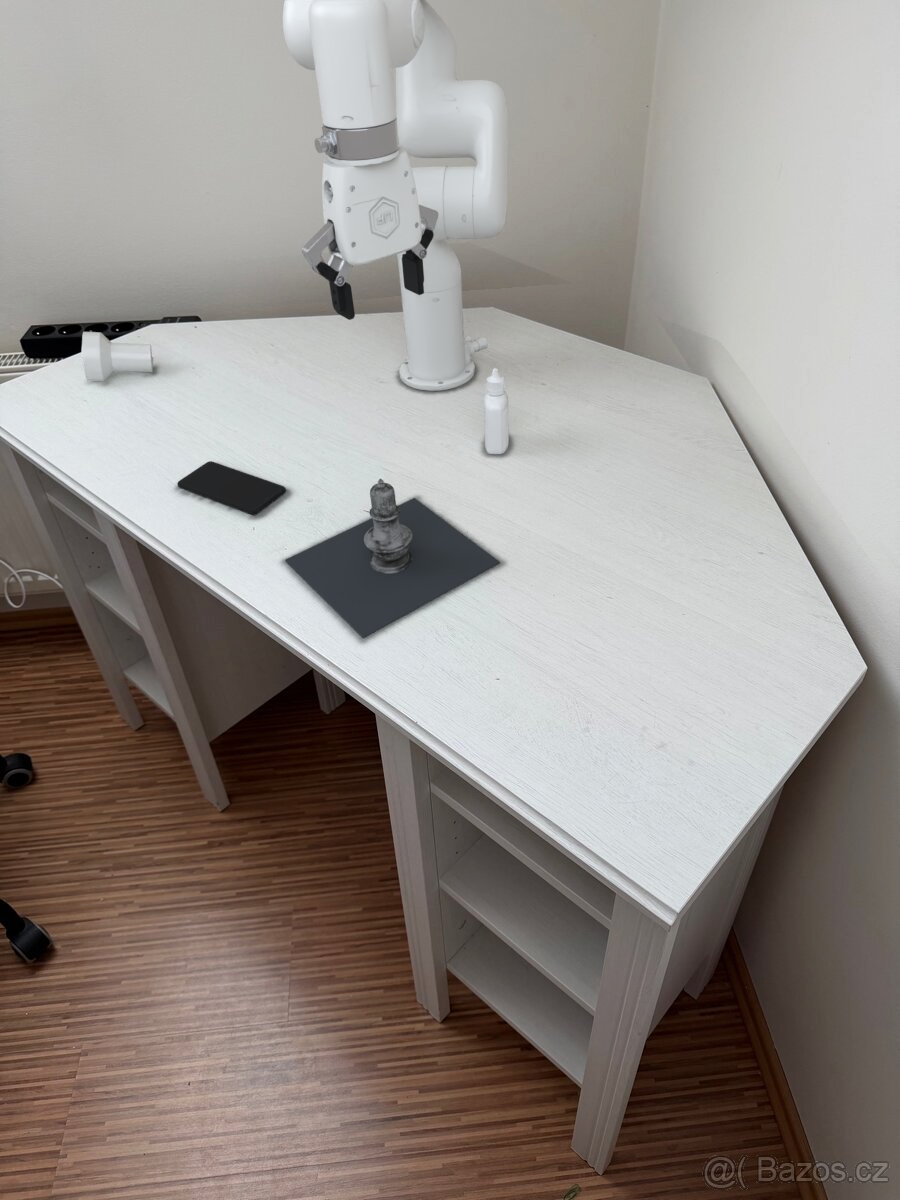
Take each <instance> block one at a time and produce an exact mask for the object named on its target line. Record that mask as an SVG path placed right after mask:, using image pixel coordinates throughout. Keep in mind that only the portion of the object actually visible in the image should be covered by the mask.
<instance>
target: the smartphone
mask: <svg viewBox="0 0 900 1200" xmlns="http://www.w3.org/2000/svg"><path fill="white" fill-rule="evenodd" d="M177 487H178V488H179V489H181V490H184V491H187V492H189V493H192V494H195V495H197V496H200V497H203V498H205V499H208V500H211V501H212V502H216V503H219V504H221V505H223V506H227V507H230V508H232V509H235V510H237V511H239V512H240V511H241V512H243V513H245V514H248V515H251V516H256V515H258V514H259V513H262V511H264V510H265V509H266V508H268V507H269V506H270V505H271V504H273V503H274V502H276V501H277V500H278V499H280V498H281V497H282V496H283V495H285V494H286V492H287V489H286V486H284V485H281V484H279V483H276V482H273V481H271V480H267V479H264V478H261V477H258V476H255V475H253V474H250V473H247V472H244V471H241V470H239V469H236V468H233V467H229V466H226V465H223V464H221V463H217V462H215V461H211V460H210V461H207V462H205V463H204V464H202V465H200V466H199V467H197V469H195V470H193V471H191V472H190V473H189V474H187V475H186V476H184V477H183V478H181V479H180V480H178V482H177Z"/></svg>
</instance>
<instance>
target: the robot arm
mask: <svg viewBox="0 0 900 1200" xmlns="http://www.w3.org/2000/svg"><path fill="white" fill-rule="evenodd" d="M282 6H283V8H282V31H283V37H284V41H285V44H286V47H287V50H288V52H289V55H291V57H292V59H293V60H294V61H295V62H296V63H297V64H298V65H300V66H301V67H302V68H304V69H306V70H309V71H315V78H316V84H317V92H318V99H319V105H320V113H321V119H322V121H321V122H322V126H321V130H322V131H321V132H322V135H320V137H317V138H315V139H314V147H315V150H316V152H317V153H318V154H322V153H323V154H324V153H325V155H326V156H327V157H326V158H324V159H323V160H322V173H321V200H322V214H323V224H324V225H323V226H322V227H321V228H320V229H319V230H318V231H317V232H316V233H315V234H313V236H312V237H311V238H310V239H309V240H308V241H307V242H306V243H305V245H303V246H302V248H301V253H302V255H303V257H304V258H305V260H306V262H308V264H309V265H310V266H311V269H312V270H313V271H314V272H316V273H317V274H318V275H320V276H321V277H323V279H325V280H327V281H328V285H329V290H330V296H331V304H332V308H333V309H334V311H335V312H336V314H338V315H340V316H341V317H343V318H345V319H347V320H348V321H350V320H353V319H355V317H356V313H355V306H354V299H353V290H352V286H351V284H350V283H348V282H347V280H348V277H349V275H350V273H351V271H352V268H353V266H354V267H359V266H363V265H367V264H371V263H374V262H377V261H380V260H384V259H387V258H389V257H393V256H397V265H398V272H399V273H398V275H399V276H398V277H399V284H400V294H401V295H400V296H401V305H402V316H403V326H404V336H405V347H406V358H407V359H405V360H404V361H403V362H402V363H401V365H400V366H399V369H398V371H399V373H398V374H399V378H400V380H401V382H403V384H405V385H406V386H408V387H411V388H413V389H416V390H420V391H428V392H431V391H432V392H435V391H436V392H437V391H438V392H439V391H445V390H451V389H456V388H458V387H461V386H463V385H464V384H466V383H468V382H469V381H470V380H471V379H472V378H473V377H474V375H475V373H476V366H475V365H476V364H475V362H474V361H473V359H472V358H471V357H473V356H474V355H475V353H476V352H481V351H482V350H486V349H487V348H488V347H489V346H488V345H489V343H488V340H487V337H485V336H481V337H479V338H477V339H474V340H473V339H472V337H471V336H469V335H468V336H465V329H464V309H463V308H464V307H463V283H462V269H461V265H460V260H459V259H458V256H457V255H456V253H455V251H454V250H453V248H452V247H451V246H450V244H449V243H448V242H447V241H449V240H478V239H480V240H481V239H490V238H494V237H497V236H498V235H499V234H501V232H502V231H503V229H504V227H505V223H506V217H507V210H508V173H509V172H508V169H509V167H508V166H509V165H508V164H509V112H508V111H509V110H508V102H507V98H506V95H505V92H504V90H503V88H502V87H501V86H500V85H499V84H498V83H497V82H494V81H492V80H487V79H463V80H462V79H461V80H460V79H459V80H458V79H457V43H456V40H455V37H454V35H453V33H452V32H451V30H450V29H449V27H448V25H447V23H446V22H445V21H444V20H443V18H442V17H441V16H440V14H439V13H438V12H437V11H436V10H435V9H434V8H433V7H432V6H431V4H430V3H429V2H428V0H284V1H283V5H282ZM394 69H395V81H394V74H393V70H394ZM409 156H410V157H413V158H419V159H459V158H460V159H461V158H463V159H465V158H466V159H467V158H469V159H472V160H474V162H476V165H461V166H460V165H459V166H448V165H442V166H441V165H439V166H438V165H437V166H415V167H412V165H411V161H410V158H409ZM326 248H327V249H328V252H329V254H330V257H329V259H328V262H327V263H326V262H325V260H324V258H323V256H322V253H323V251H324V250H325V249H326Z"/></svg>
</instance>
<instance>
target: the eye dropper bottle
mask: <svg viewBox="0 0 900 1200" xmlns="http://www.w3.org/2000/svg"><path fill="white" fill-rule="evenodd" d="M491 371H492V372H491V375H489V376H488V377H487V378H486V393H485V395H484V397H483V426H484V430H483V431H484V447H485V451H486V452H487V454H489V455H503V454H504V453H505V452H506V451H507V450H508V447H509V443H510V439H509V437H510V435H509V425H510V423H509V396H508V393H507V392H506V391H505V377H503V375H500V373H499V369H498V368H496V367H495V368H493V369H492V370H491Z"/></svg>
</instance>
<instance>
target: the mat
mask: <svg viewBox="0 0 900 1200" xmlns="http://www.w3.org/2000/svg"><path fill="white" fill-rule="evenodd" d="M397 506H398V507H399V508H400V513H399V515H398V519H399V523H400V524H402V525H405V526H406V527H408V528H409V529H410V530H411V532H412V540H411V542H410V546H409V549H408V550H409V551H410V553H411V554H412V562H411V564H410V565H409V566H408V567H407V568H406V569H404V570H403V571H400V572H397V573H392V574H385V573H380V572H378V571H376V570H374V569H373V568H372V567H371V565H370V557H371V556H372V553H371V552H370V551H369V549H368V547H367V546H366V545H365V543H364V537H365V534H366V533H367V531H368V530H370V529H371V528H372V527H374V523H373V518H371V517H370V518H369V519H367V520H365V521H363V522H360V523H359V524H357V525H354V526H353V527H351V528H348V529H347V530H344V531H342V532H340V533H338V534H336V535H333V536H331V537H330V538H328V539H326V540H324V541H321V542H319V543H317V544H315V545H313V546H310V547H309V548H307V549H305V550H302V551H300V552H298V553H296V554H294V555H292V556H290V557H288V558H286V559H284V562H285V563H286V564H287V565H288V566H289V567H290V568H291V569H292V570H293V571H294V572H295V573H296V574H297V575H298V576H299V577H300V578H301V579H302V580H303V581H304V582H305V583H306V584H307V585H308V586H309V587H310V588H311V589H312V590H313V591H314V592H315V593H316V594H317V595H318V596H320V598H322V600H323V601H325V603H327V605H329V606H330V607H331V609H332V610H333V611H335V612H336V614H337V615H339V616H340V617H341V619H343V621H345V622H346V623H347V624H348V625H349V626H350V627H351V629H352V630H354V631H355V633H357V634H358V635H359V636H360V637H361V638H362V639H365V638H366V637H369V636H370V635H372V634H374V633H376V632H377V631H379V630H381V629H383V628H385V627H386V626H388V625H390V624H393V623H394V622H395V621H397V620H399V619H401V618H403V617H405V616H406V615H409V614H410V613H412V612H414V611H416V610H418V609H419V608H421V607H423V606H425V605H426V604H428V603H430V602H432V601H434V600H436V599H437V598H438V599H439V598H440V597H441V596H443V595H445V594H447V593H448V592H451V591H452V590H454V589H456V588H458V587H460V586H461V585H463V584H465V583H467V582H469V581H470V580H472V579H474V578H475V577H478V576H480V575H481V574H483V573H486V572H487V571H489V570H491V569H492V568H494V567H496V566H498V565H500V563H501V562H500V561H499V560H498V559H497V558H496V557H494V556H493V555H492V554H490V553H489V552H487V550H485V549H483V548H482V547H481V546H480V545H478V544H477V543H475V542H474V541H473V540H471V539H470V538H469V537H467V536H466V535H465V534H463V533H462V532H461V531H460V530H458V529H457V528H455V527H454V526H453V525H451V524H450V523H448V522H447V521H446V520H444V519H443V518H442V517H441V516H440V515H438V514H437V513H435V512H434V511H433V510H431V509H430V508H429V507H427V506H426V505H424V504H423V503H422V502H420V501H419V500H418V499H417V498H415V497H413V498H411V499H409V500H407V501H404V502H403V503H401V504H398V505H397Z"/></svg>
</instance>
